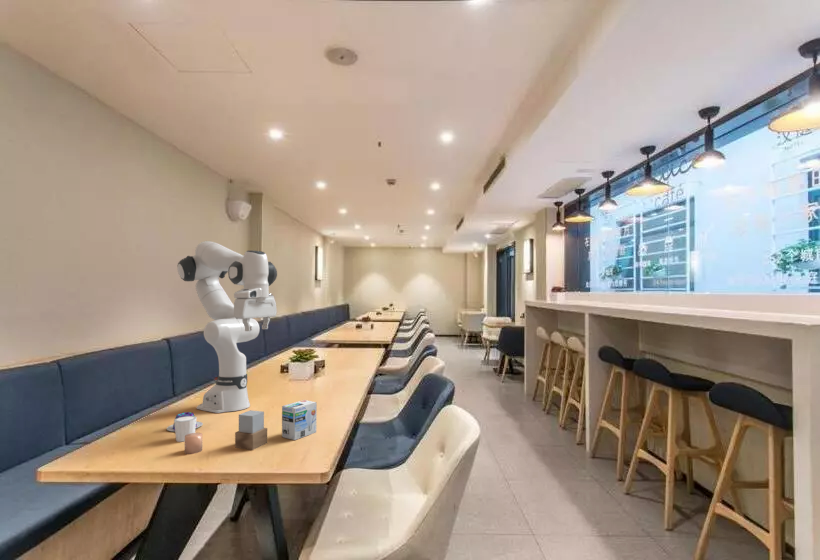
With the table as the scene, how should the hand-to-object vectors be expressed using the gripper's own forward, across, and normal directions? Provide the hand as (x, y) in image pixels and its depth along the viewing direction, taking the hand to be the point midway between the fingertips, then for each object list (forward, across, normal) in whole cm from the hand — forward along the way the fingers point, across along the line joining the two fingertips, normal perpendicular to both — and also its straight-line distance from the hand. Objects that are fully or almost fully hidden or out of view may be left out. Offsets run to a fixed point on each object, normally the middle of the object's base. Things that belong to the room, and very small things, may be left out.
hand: (256, 330), depth 161 cm
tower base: (+36, +16, +10) cm, 41 cm away
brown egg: (+36, +26, -4) cm, 45 cm away
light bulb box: (+37, +2, +20) cm, 42 cm away
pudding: (+36, +8, -27) cm, 45 cm away
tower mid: (+31, +16, +10) cm, 37 cm away
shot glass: (+36, +18, -16) cm, 43 cm away
